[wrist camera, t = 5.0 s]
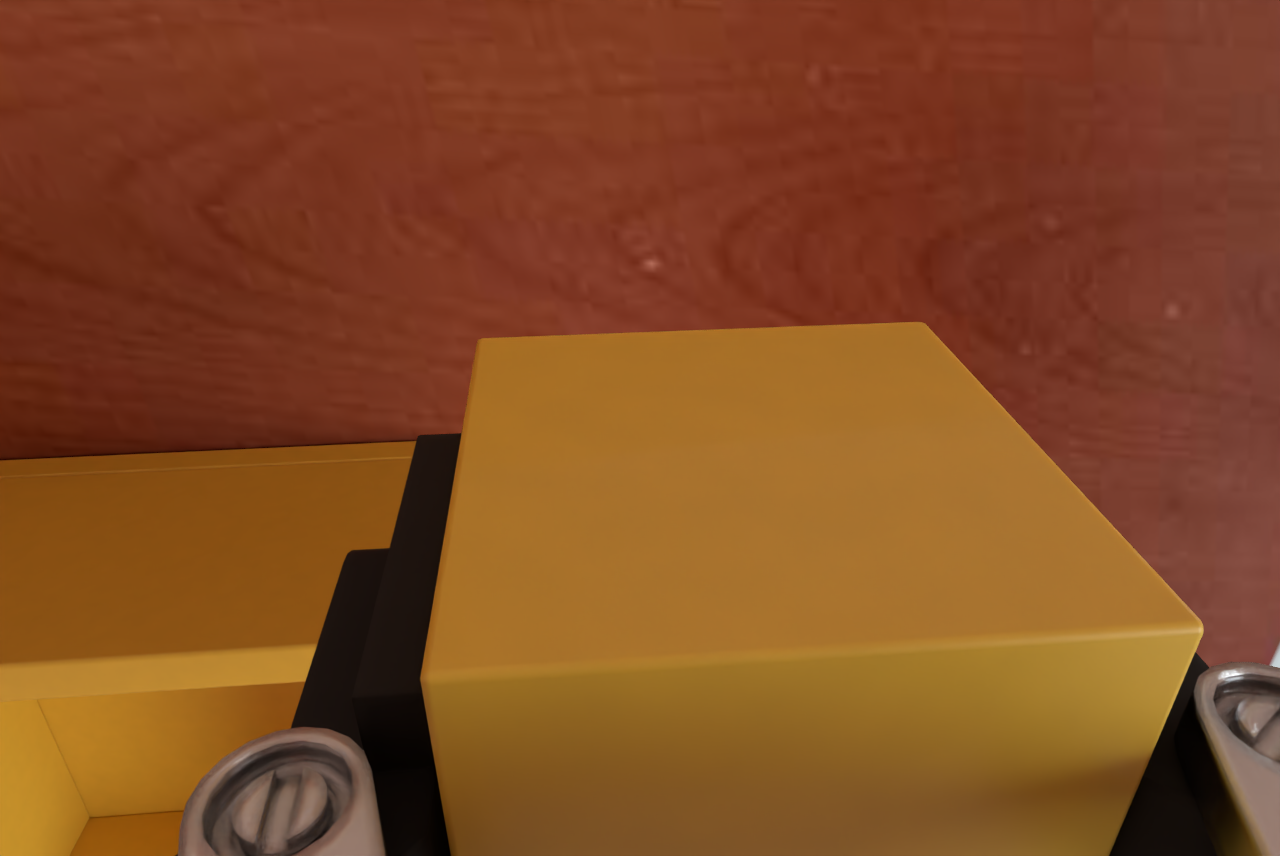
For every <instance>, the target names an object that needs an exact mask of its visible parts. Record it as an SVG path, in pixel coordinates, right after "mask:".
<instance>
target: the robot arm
mask: <svg viewBox="0 0 1280 856" xmlns="http://www.w3.org/2000/svg"><path fill="white" fill-rule="evenodd" d="M461 434H462V433H459V434H438V435H420V436H418V438H417V441H416V445H415V449H414V453H413V457H412V461H411V465H410V469H409V473H408V477H407V480H406V484H405V488H404V492H403V496H402V500H401V504H400V508H399V512H398V516H397V520H396V524H395V528H394V532H393V536H392V540H391V544H390V548H381V549H363V550H351V551H350V552H349V553H347V556H346V558H345V560H344V562H343V565H342V568H341V571H340V575H339V578H338V581H337V584H336V587H335V590H334V593H333V596H332V600H331V603H330V606H329V609H328V612H327V615H326V618H325V622H324V625H323V628H322V631H321V634H320V637H319V640H318V644H317V647H316V650H315V653H314V656H313V659H312V662H311V666H310V669H309V672H308V675H307V678H306V681H305V684H304V688H303V691H302V694H301V697H300V700H299V703H298V706H297V710H296V713H295V716H294V719H293V722H292V725H291V728H290V729H286V730H280V731H275V732H272V733H270V734H267V735H265V736H262V737H259V738H257V739H254V740H252V741H249V742H247V743H246V744H244V745H242V746H241V747H239V748H238V749H236V750H235V751H233V752H231V753H230V754H228V755H227V756H225V757H224V758H222V759H221V760H220V761H219V762H218V763H217V764H216V765H215V766H214V767H213V768H212V769H211V770H210V771H209V772H208V773H207V774H206V775H205V776H204V777H203V778H202V779H201V780H200V782H199V783H198V785H197V786H196V788H195V790H194V791H193V793H192V794H191V796H190V798H189V799H188V801H187V802H186V805H185V809H184V813H183V817H182V821H181V825H180V830H179V846H178V854H177V855H175V856H451V854H450V848H449V842H448V836H447V831H446V825H445V819H444V813H443V807H442V802H441V796H440V790H439V784H438V779H437V773H436V767H435V761H434V756H433V750H432V744H431V738H430V733H429V727H428V721H427V715H426V710H425V704H424V698H423V692H422V687H421V681H420V676H421V670H422V664H423V658H424V652H425V647H426V641H427V635H428V629H429V623H430V617H431V611H432V605H433V599H434V593H435V587H436V582H437V576H438V570H439V564H440V558H441V552H442V546H443V540H444V534H445V528H446V522H447V517H448V511H449V505H450V499H451V493H452V487H453V481H454V475H455V469H456V463H457V457H458V452H459V446H460V440H461ZM1109 856H1280V668H1277V667H1273V666H1268V665H1264V664H1259V663H1252V662H1228V663H1224V664H1220V665H1216V666H1212V667H1210V668H1209V667H1208V666H1207V665H1206V663H1205V662H1204V661H1203V660H1202V659H1201V658H1200V657H1199V655H1198V654H1197V653H1196V652H1195V654H1194V656H1193V658H1192V661H1191V663H1190V665H1189V668H1188V670H1187V673H1186V675H1185V677H1184V680H1183V682H1182V684H1181V687H1180V689H1179V691H1178V694H1177V696H1176V699H1175V701H1174V703H1173V706H1172V708H1171V710H1170V713H1169V715H1168V717H1167V720H1166V722H1165V724H1164V727H1163V729H1162V732H1161V734H1160V736H1159V739H1158V741H1157V743H1156V746H1155V748H1154V750H1153V753H1152V755H1151V758H1150V760H1149V762H1148V765H1147V767H1146V769H1145V772H1144V774H1143V776H1142V779H1141V781H1140V784H1139V786H1138V788H1137V791H1136V793H1135V795H1134V798H1133V800H1132V802H1131V805H1130V807H1129V809H1128V812H1127V814H1126V817H1125V819H1124V821H1123V824H1122V826H1121V828H1120V831H1119V833H1118V835H1117V838H1116V840H1115V843H1114V845H1113V847H1112V850H1111V852H1110V854H1109Z"/></svg>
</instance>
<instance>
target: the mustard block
mask: <svg viewBox="0 0 1280 856" xmlns="http://www.w3.org/2000/svg"><path fill="white" fill-rule="evenodd" d="M1202 635H1203V625H1202V622H1201V620H1200V619H1199V618H1198V617H1197V616H1196V615H1195V614H1194V613H1193V612H1192V611H1191V609H1190V608H1189V607H1188V606H1187V605H1186V604H1185V603H1184V602H1183V601H1182V600H1181V599H1180V598H1179V597H1178V596H1177V594H1176V593H1175V592H1174V591H1173V590H1172V589H1171V588H1170V587H1169V586H1168V585H1167V584H1166V583H1165V582H1164V580H1163V579H1162V578H1161V577H1160V576H1159V575H1158V574H1157V573H1156V572H1155V571H1154V570H1153V569H1152V568H1151V566H1150V565H1149V564H1148V563H1147V562H1146V561H1145V560H1144V559H1143V558H1142V557H1141V556H1140V555H1139V554H1138V552H1137V551H1136V550H1135V549H1134V548H1133V547H1132V546H1131V545H1130V544H1129V543H1128V542H1127V541H1126V540H1125V538H1124V537H1123V536H1122V535H1121V534H1120V533H1119V532H1118V531H1117V530H1116V529H1115V528H1114V527H1113V526H1112V524H1111V523H1110V522H1109V521H1108V520H1107V519H1106V518H1105V517H1104V516H1103V515H1102V514H1101V513H1100V512H1099V510H1098V509H1097V508H1096V507H1095V506H1094V505H1093V504H1092V503H1091V502H1090V501H1089V500H1088V499H1087V498H1086V496H1085V495H1084V494H1083V493H1082V492H1081V491H1080V490H1079V489H1078V488H1077V487H1076V486H1075V485H1074V484H1073V482H1072V481H1071V480H1070V479H1069V478H1068V477H1067V476H1066V475H1065V474H1064V473H1063V472H1062V471H1061V470H1060V468H1059V467H1058V466H1057V465H1056V464H1055V463H1054V462H1053V461H1052V460H1051V459H1050V458H1049V457H1048V456H1047V454H1046V453H1045V452H1044V451H1043V450H1042V449H1041V448H1040V447H1039V446H1038V445H1037V444H1036V443H1035V442H1034V440H1033V439H1032V438H1031V437H1030V436H1029V435H1028V434H1027V433H1026V432H1025V431H1024V430H1023V429H1022V428H1021V426H1020V425H1019V424H1018V423H1017V422H1016V421H1015V420H1014V419H1013V418H1012V417H1011V416H1010V415H1009V414H1008V413H1007V411H1006V410H1005V409H1004V408H1003V407H1002V406H1001V405H1000V404H999V403H998V402H997V401H996V400H995V399H994V397H993V396H992V395H991V394H990V393H989V392H988V391H987V390H986V389H985V388H984V387H983V386H982V385H981V383H980V382H979V381H978V380H977V379H976V378H975V377H974V376H973V375H972V374H971V373H970V372H969V371H968V369H967V368H966V367H965V366H964V365H963V364H962V363H961V362H960V361H959V360H958V359H957V358H956V357H955V355H954V354H953V353H952V352H951V351H950V350H949V349H948V348H947V347H946V346H945V345H944V344H943V343H942V341H941V340H940V339H939V338H938V337H937V336H936V335H935V334H934V333H933V332H932V331H931V330H930V329H929V327H928V326H927V325H926V324H925V323H922V322H904V323H877V324H850V325H824V326H797V327H770V328H744V329H717V330H691V331H664V332H637V333H611V334H584V335H557V336H531V337H504V338H483V339H480V340H478V342H477V345H476V351H475V357H474V363H473V369H472V375H471V381H470V387H469V392H468V398H467V404H466V410H465V416H464V422H463V428H462V434H461V440H460V446H459V452H458V457H457V463H456V469H455V475H454V481H453V487H452V493H451V499H450V505H449V511H448V517H447V522H446V528H445V534H444V540H443V546H442V552H441V558H440V564H439V570H438V576H437V582H436V587H435V593H434V599H433V605H432V611H431V617H430V623H429V629H428V635H427V641H426V647H425V652H424V658H423V664H422V670H421V676H420V681H421V687H422V692H423V698H424V704H425V710H426V715H427V721H428V727H429V733H430V738H431V744H432V750H433V756H434V761H435V767H436V773H437V779H438V784H439V790H440V796H441V802H442V807H443V813H444V819H445V825H446V831H447V836H448V842H449V848H450V854H451V856H1109V854H1110V852H1111V850H1112V847H1113V845H1114V843H1115V840H1116V838H1117V835H1118V833H1119V831H1120V828H1121V826H1122V824H1123V821H1124V819H1125V817H1126V814H1127V812H1128V809H1129V807H1130V805H1131V802H1132V800H1133V798H1134V795H1135V793H1136V791H1137V788H1138V786H1139V784H1140V781H1141V779H1142V776H1143V774H1144V772H1145V769H1146V767H1147V765H1148V762H1149V760H1150V758H1151V755H1152V753H1153V750H1154V748H1155V746H1156V743H1157V741H1158V739H1159V736H1160V734H1161V732H1162V729H1163V727H1164V724H1165V722H1166V720H1167V717H1168V715H1169V713H1170V710H1171V708H1172V706H1173V703H1174V701H1175V699H1176V696H1177V694H1178V691H1179V689H1180V687H1181V684H1182V682H1183V680H1184V677H1185V675H1186V673H1187V670H1188V668H1189V665H1190V663H1191V661H1192V658H1193V656H1194V654H1195V651H1196V649H1197V647H1198V644H1199V642H1200V639H1201V637H1202Z"/></svg>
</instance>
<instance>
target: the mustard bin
mask: <svg viewBox="0 0 1280 856" xmlns="http://www.w3.org/2000/svg"><path fill="white" fill-rule="evenodd" d="M415 445H416V441H406V442H384V443H363V444H341V445H320V446H299V447H277V448H256V449H234V450H213V451H192V452H170V453H149V454H127V455H106V456H85V457H63V458H42V459H20V460H0V856H175V855H177V854H178V846H179V830H180V825H181V821H182V817H183V813H184V809H185V805H186V802H187V801H188V799H189V798H190V796H191V794H192V793H193V791H194V790H195V788H196V786H197V785H198V783H199V782H200V780H201V779H202V778H203V777H204V776H205V775H206V774H207V773H208V772H209V771H210V770H211V769H212V768H213V767H214V766H215V765H216V764H217V763H218V762H219V761H220V760H221V759H222V758H224V757H225V756H227V755H228V754H230V753H231V752H233V751H235V750H236V749H238V748H239V747H241V746H242V745H244V744H246V743H247V742H249V741H252V740H254V739H257V738H259V737H262V736H265V735H267V734H270V733H272V732H275V731H280V730H286V729H290V728H291V725H292V722H293V719H294V716H295V713H296V710H297V706H298V703H299V700H300V697H301V694H302V691H303V688H304V684H305V681H306V678H307V675H308V672H309V669H310V666H311V662H312V659H313V656H314V653H315V650H316V647H317V644H318V640H319V637H320V634H321V631H322V628H323V625H324V622H325V618H326V615H327V612H328V609H329V606H330V603H331V600H332V596H333V593H334V590H335V587H336V584H337V581H338V578H339V575H340V571H341V568H342V565H343V562H344V560H345V558H346V556H347V553H349V552H350V551H351V550H363V549H381V548H390V544H391V540H392V536H393V532H394V528H395V524H396V520H397V516H398V512H399V508H400V504H401V500H402V496H403V492H404V488H405V484H406V480H407V477H408V473H409V469H410V465H411V461H412V457H413V453H414V449H415Z"/></svg>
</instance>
